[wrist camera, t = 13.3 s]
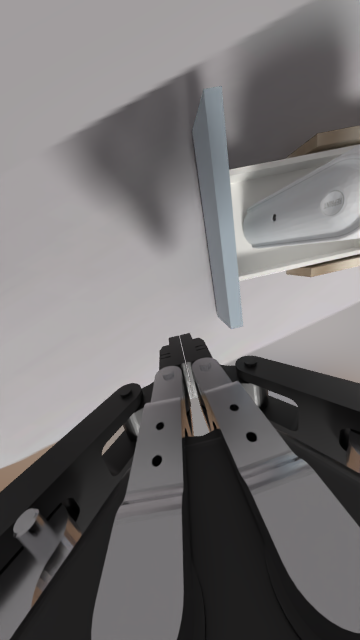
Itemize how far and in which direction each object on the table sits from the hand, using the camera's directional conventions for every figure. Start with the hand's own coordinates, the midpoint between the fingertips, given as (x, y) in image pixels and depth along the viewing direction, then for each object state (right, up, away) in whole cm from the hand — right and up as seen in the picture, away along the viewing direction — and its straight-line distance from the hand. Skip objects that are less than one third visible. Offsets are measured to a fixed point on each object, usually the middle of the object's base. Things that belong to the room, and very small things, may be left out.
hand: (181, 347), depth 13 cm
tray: (+11, +12, +6) cm, 18 cm away
